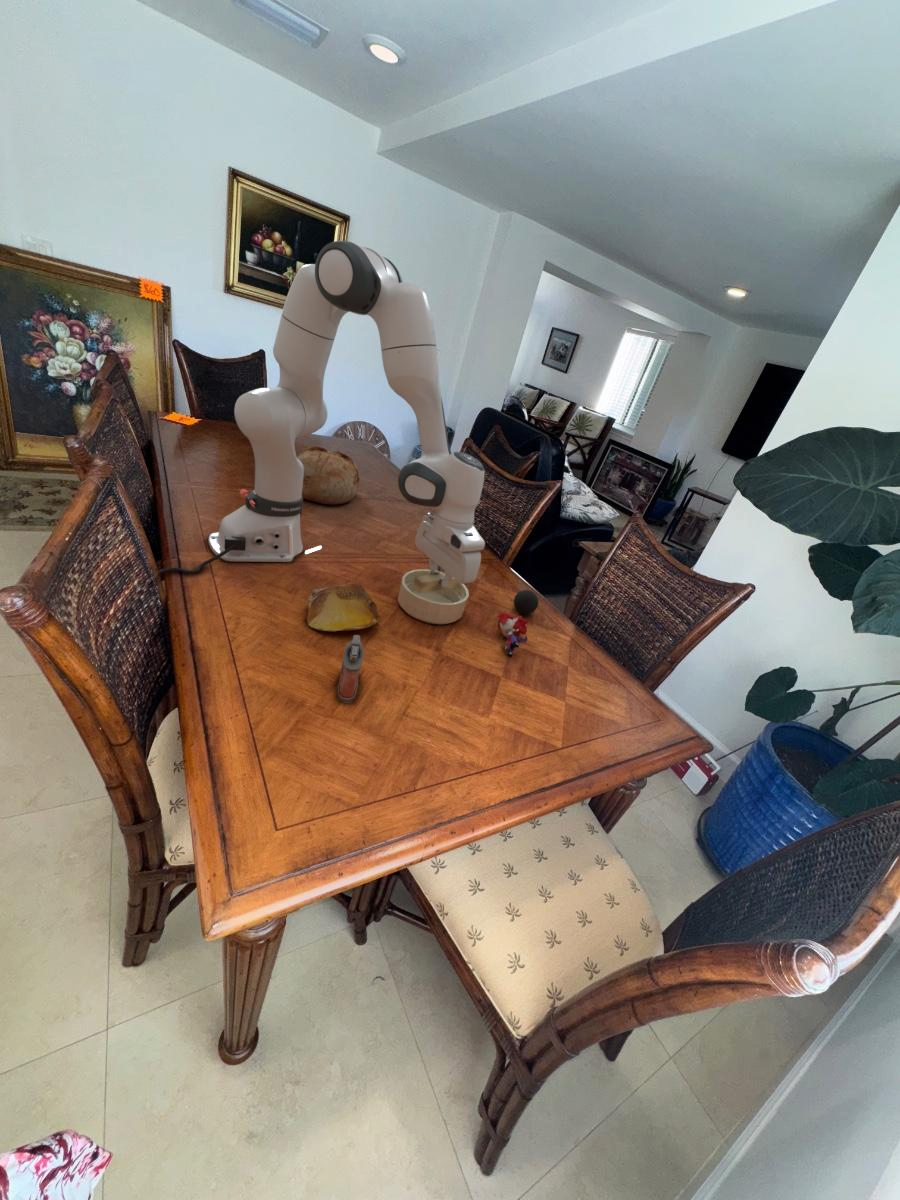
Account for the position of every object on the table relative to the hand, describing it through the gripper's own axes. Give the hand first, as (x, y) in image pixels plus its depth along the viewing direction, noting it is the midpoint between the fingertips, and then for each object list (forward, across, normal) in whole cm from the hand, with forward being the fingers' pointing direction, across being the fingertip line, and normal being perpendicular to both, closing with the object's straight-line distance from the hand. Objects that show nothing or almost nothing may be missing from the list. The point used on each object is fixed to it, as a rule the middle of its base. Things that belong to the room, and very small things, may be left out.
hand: (438, 581), depth 115 cm
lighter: (+8, +19, -32) cm, 38 cm away
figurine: (+8, +19, +10) cm, 23 cm away
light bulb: (+8, +8, +25) cm, 27 cm away
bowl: (+7, 0, 0) cm, 7 cm away
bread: (+7, -74, +5) cm, 75 cm away
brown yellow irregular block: (+8, -2, -23) cm, 24 cm away
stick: (+2, 0, 0) cm, 2 cm away
